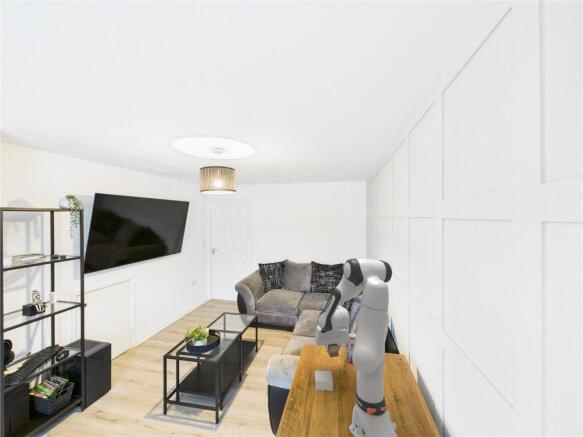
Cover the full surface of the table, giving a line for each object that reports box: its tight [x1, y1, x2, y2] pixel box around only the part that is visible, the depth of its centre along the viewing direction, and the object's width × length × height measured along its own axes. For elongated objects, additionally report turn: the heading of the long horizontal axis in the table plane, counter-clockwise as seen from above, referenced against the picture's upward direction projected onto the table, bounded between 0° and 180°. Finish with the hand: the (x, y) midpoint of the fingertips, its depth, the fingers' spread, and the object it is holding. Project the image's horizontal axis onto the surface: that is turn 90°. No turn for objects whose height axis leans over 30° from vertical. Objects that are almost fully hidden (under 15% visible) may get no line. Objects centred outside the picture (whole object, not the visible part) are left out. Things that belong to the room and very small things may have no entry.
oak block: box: [327, 343, 340, 358], centre depth 142 cm, size 5×5×6 cm
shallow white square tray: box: [314, 370, 334, 392], centre depth 133 cm, size 9×9×5 cm
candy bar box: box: [345, 333, 356, 364], centre depth 154 cm, size 11×5×16 cm, turn 84°
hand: (333, 351), depth 142 cm, fingers closed on oak block, 5 cm apart
